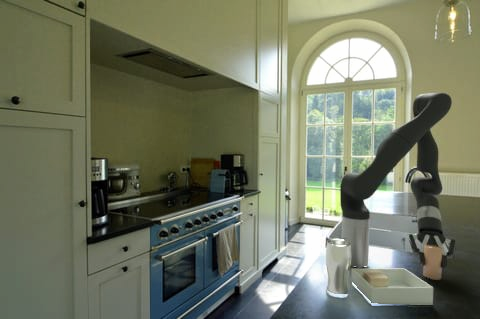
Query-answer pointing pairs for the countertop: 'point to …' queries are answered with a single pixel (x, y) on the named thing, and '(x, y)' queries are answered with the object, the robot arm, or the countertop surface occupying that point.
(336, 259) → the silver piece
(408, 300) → the grey tote
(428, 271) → the terracotta cylinder
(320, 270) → the countertop surface
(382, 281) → the beech cube
